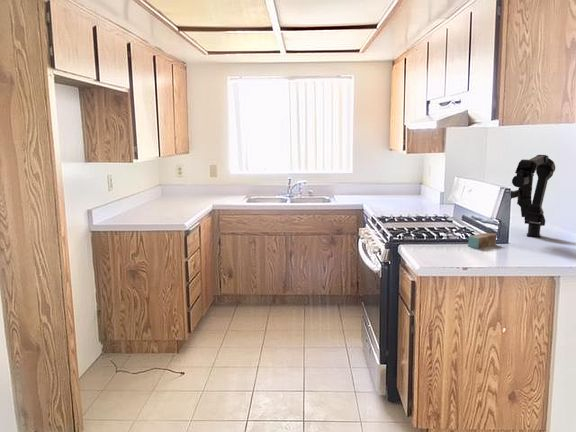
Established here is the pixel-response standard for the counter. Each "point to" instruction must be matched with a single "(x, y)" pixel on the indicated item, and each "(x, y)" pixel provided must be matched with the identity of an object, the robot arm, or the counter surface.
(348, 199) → the counter surface
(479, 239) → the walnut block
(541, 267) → the counter surface
